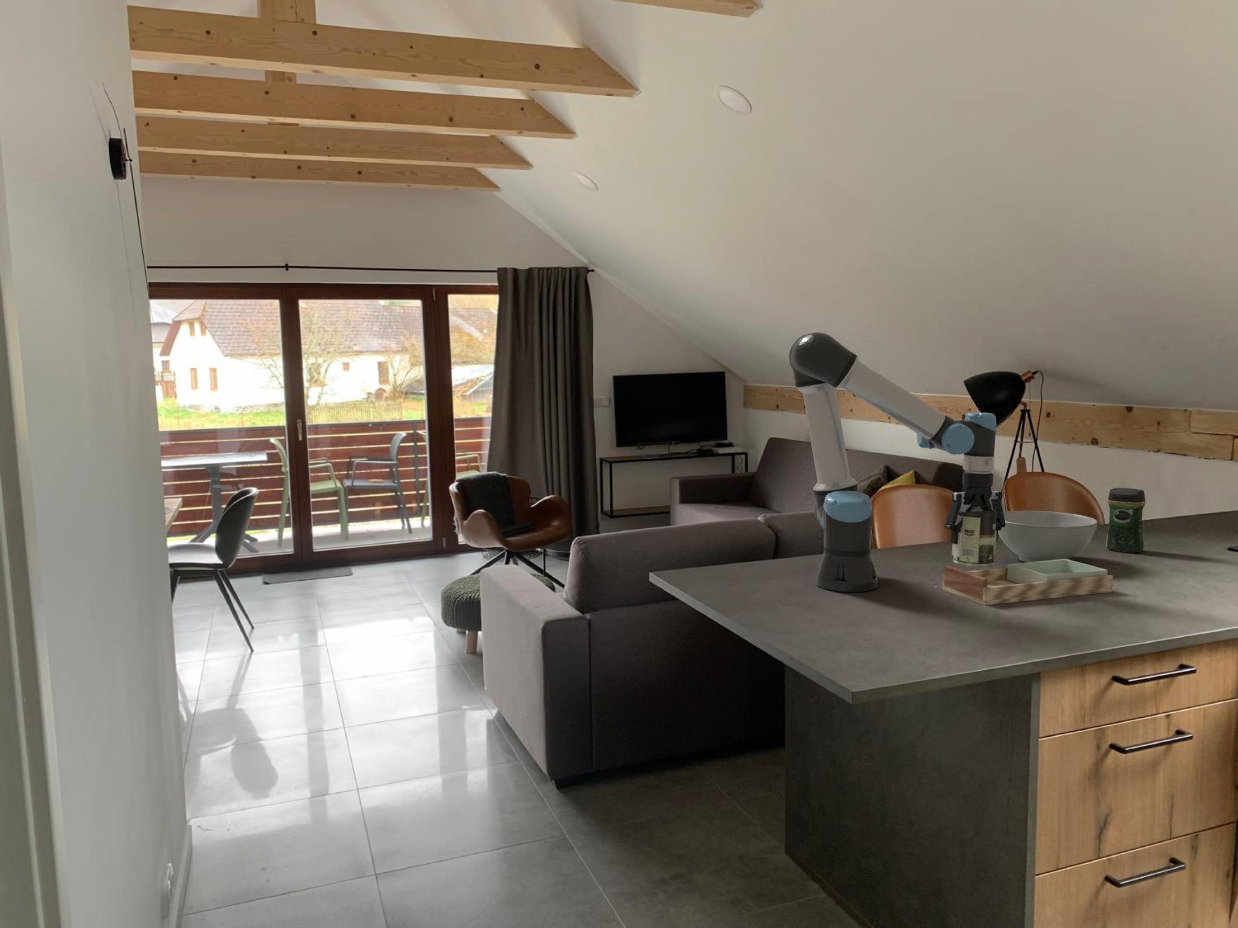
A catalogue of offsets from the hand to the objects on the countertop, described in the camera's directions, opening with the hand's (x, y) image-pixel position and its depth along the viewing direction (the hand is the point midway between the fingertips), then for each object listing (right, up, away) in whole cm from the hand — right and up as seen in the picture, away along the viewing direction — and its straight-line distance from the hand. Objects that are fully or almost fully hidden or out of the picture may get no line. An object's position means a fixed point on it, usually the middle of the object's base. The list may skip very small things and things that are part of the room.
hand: (973, 554), depth 245 cm
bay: (+7, -7, -17) cm, 19 cm away
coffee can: (0, -2, 0) cm, 2 cm away
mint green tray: (+15, -6, -14) cm, 22 cm away
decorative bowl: (+26, -3, +17) cm, 31 cm away
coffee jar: (+56, -2, +29) cm, 63 cm away
